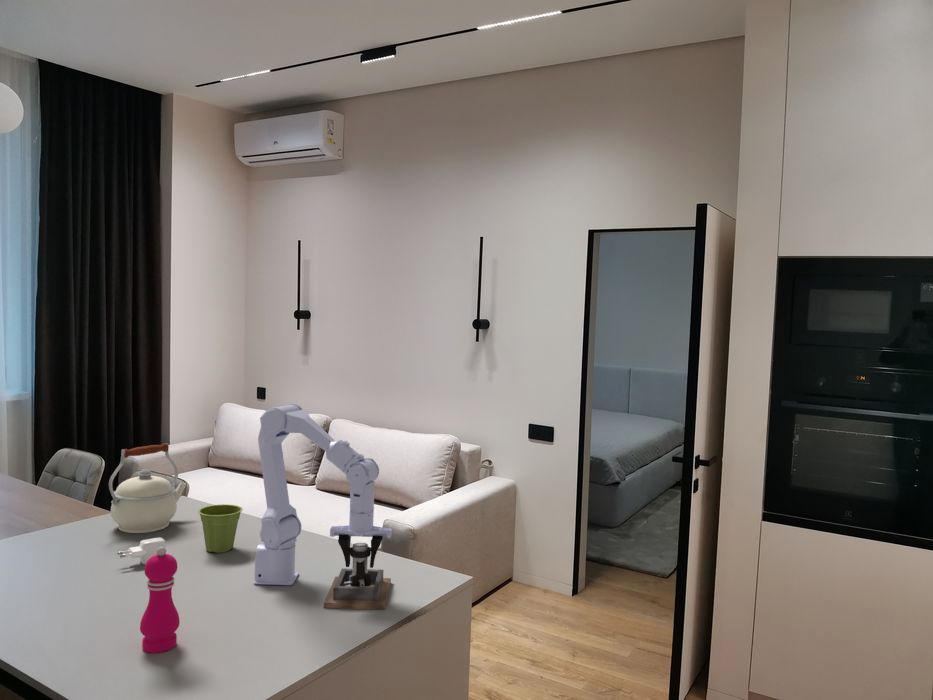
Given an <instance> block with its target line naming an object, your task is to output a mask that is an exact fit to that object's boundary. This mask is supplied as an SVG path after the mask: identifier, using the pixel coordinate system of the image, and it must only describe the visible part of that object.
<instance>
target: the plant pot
mask: <svg viewBox="0 0 933 700" xmlns="http://www.w3.org/2000/svg"><path fill="white" fill-rule="evenodd" d="M242 511H243V507H242V506H240V505H235V504H224V503H223V504H211V505H206V506H204V507H201V508H199V509H198V510H197V513H198V514H199V515H200V521H201V523H202V530H203V537H204V539H203V540H204V544H205V550H206V551H207V552H210V553H211V552H213V553H217V554H219V553H220V554H221V553H226V552H229V551H231V549H232V550H233V548H234V544H235V538H236V535H237V534H236V533H237V529H238V524H239V520H240V516H241V513H242Z"/></svg>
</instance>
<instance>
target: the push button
mask: <svg viewBox="0 0 933 700" xmlns="http://www.w3.org/2000/svg"><path fill="white" fill-rule="evenodd" d="M349 551H350V558H352V569H353V571H352V575H350V576H349V581H348V582H347V583H349V585H347V586H355V587H364V586H370V582H371V576H370V575H369V574H367V573H368V571H367V569H368V558H369V557H371V546H369V544H368V543H367V542H357V543H353V545H352V546H350V549H349ZM344 583H345V584H346V582H344Z"/></svg>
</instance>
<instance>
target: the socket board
mask: <svg viewBox="0 0 933 700" xmlns="http://www.w3.org/2000/svg"><path fill="white" fill-rule="evenodd" d="M352 571H353V568H341V570H340V571H339V574H338V576H335V577H334V579H333V581H332V584H331V586H330V588H329V591H328V593H327V594H326V597H325V599H324V602H323V608H324V609H351V610H352V609H353V610H354V609H356V610H386V605H387V603H388V602H387V601H388V597H389V592H390V587H391V584H392V583H391V581H392V579H391V577H390V578H389V577H384V569H376V568H375V569H373V568H370V569H369V568H367V571H368V573H367V574H369V575H370V576H371V582H370V586H364V587H355V586H347V585H349V583H347V582H348V581H349V576H350V575H352ZM344 582H346V584H345V583H344Z"/></svg>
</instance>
